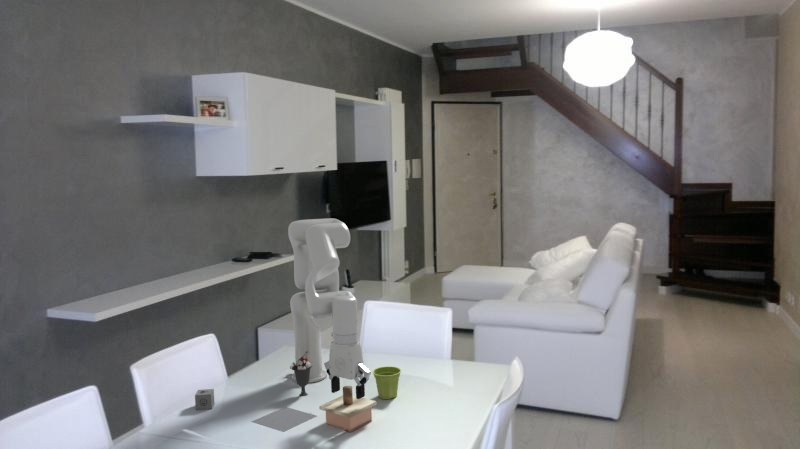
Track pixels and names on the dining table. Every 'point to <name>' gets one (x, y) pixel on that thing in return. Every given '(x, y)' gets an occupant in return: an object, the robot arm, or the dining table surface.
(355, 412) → the wooden lid with knob
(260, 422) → the mat
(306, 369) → the sundae
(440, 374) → the dining table surface
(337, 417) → the salmon pink open box
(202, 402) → the dice cube
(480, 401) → the dining table surface
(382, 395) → the plant pot
